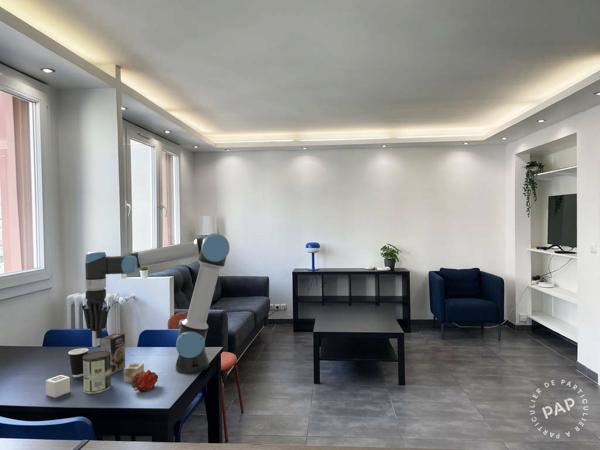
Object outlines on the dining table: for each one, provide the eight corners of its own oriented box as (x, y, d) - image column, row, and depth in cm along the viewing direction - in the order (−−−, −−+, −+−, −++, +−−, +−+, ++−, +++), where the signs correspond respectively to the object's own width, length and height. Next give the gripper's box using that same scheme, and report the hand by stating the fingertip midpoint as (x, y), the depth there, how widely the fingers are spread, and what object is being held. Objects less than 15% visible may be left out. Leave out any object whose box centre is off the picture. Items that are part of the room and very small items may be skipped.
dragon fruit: (129, 399, 151) (155, 392, 161) (141, 390, 148) (167, 383, 158) (124, 378, 155) (149, 373, 165) (135, 369, 152) (161, 364, 162)
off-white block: (69, 391, 155) (69, 376, 155) (54, 398, 150) (54, 382, 150) (61, 389, 158) (60, 374, 158) (46, 395, 153) (45, 379, 153)
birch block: (143, 376, 170) (143, 363, 170) (137, 382, 164) (137, 368, 164) (130, 376, 170) (130, 363, 170) (123, 382, 164) (123, 368, 164)
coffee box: (113, 374, 173) (112, 339, 173) (100, 373, 174) (100, 338, 174) (126, 367, 182) (125, 333, 182) (114, 366, 183) (113, 332, 183)
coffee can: (102, 381, 165) (102, 349, 165) (116, 386, 160) (115, 353, 160) (78, 390, 157) (77, 356, 157) (91, 396, 151) (91, 360, 151)
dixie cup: (65, 375, 172) (65, 351, 172) (84, 370, 178) (84, 346, 178) (72, 380, 167) (72, 355, 167) (91, 374, 173) (91, 350, 173)
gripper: (75, 289, 156) (76, 347, 156) (101, 291, 153) (101, 350, 153) (91, 287, 164) (91, 341, 164) (115, 288, 160) (115, 344, 160)
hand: (96, 345), depth 158 cm, fingers closed
